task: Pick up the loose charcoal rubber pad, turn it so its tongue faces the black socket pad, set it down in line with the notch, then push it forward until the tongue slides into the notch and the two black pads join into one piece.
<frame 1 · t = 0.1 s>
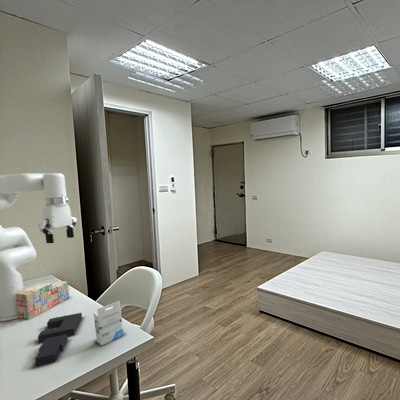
hand: (60, 240, 117), 37 cm above the table, tool pointing down, fingers open, 9 cm apart
stack of blocks: (45, 307, 134), on the table, touching arm
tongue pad: (54, 348, 100), on the table
socket pad: (62, 329, 113), on the table
ink box: (110, 338, 106), on the table
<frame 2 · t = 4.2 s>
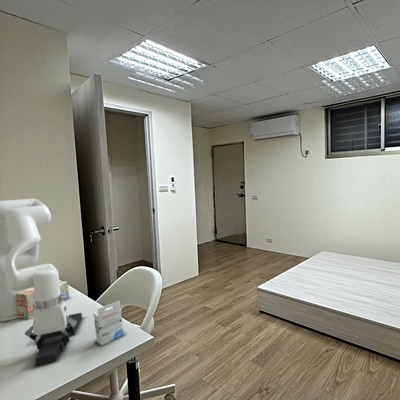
hand: (54, 346, 100), 1 cm above the table, tool pointing down, fingers closed on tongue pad, 7 cm apart
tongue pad: (54, 348, 100), on the table, touching gripper
everything else where it was.
when the fingers open (1 cm above the table, at t = 12.0 s): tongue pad stays where it is, on the table.
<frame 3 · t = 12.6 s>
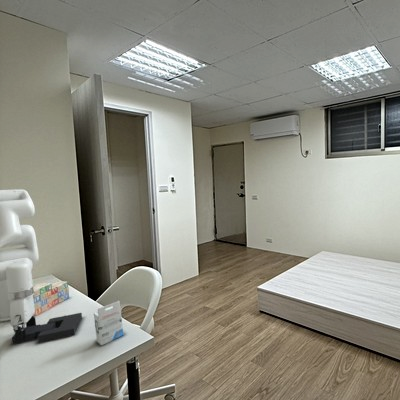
hand: (26, 333, 109), 2 cm above the table, tool pointing down, fingers open, 9 cm apart
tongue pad: (27, 337, 108), on the table
everything else where it was.
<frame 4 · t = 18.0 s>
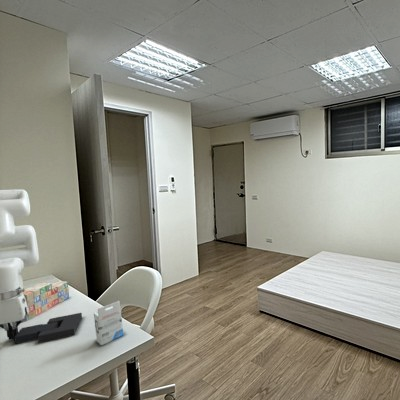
hand: (13, 337, 107), 1 cm above the table, tool pointing down, fingers closed
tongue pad: (29, 336, 109), on the table, touching gripper
everything else where it was.
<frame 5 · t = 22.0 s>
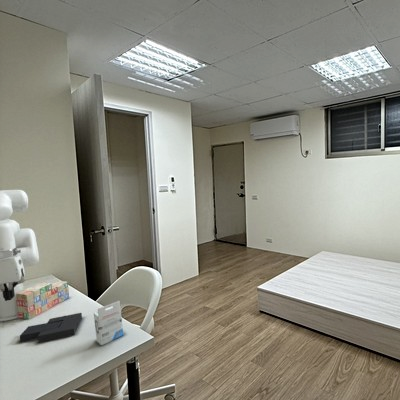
hand: (9, 299, 105), 17 cm above the table, tool pointing down, fingers closed
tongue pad: (35, 335, 110), on the table, touching socket pad
everything else where it was.
at the end: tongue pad 0.4 cm from the target spot on the table beside the socket pad, on the table; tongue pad tilted 0°; the gripper is holding nothing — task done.
